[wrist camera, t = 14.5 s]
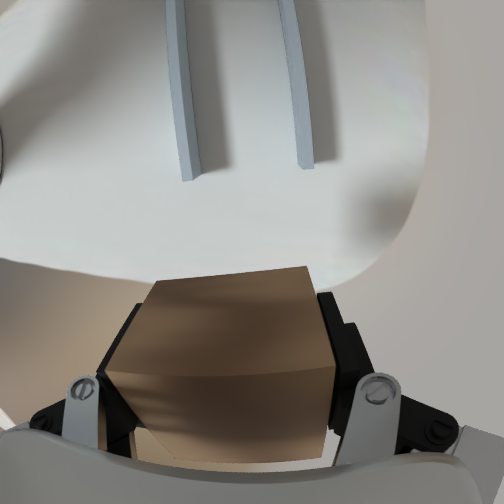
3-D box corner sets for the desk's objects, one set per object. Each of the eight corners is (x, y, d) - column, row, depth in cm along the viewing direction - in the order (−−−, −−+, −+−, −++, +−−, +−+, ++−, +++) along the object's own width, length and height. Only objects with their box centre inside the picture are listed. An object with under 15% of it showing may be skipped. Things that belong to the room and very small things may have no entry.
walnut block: (193, 377, 13) (174, 458, 9) (156, 280, 11) (104, 370, 6) (308, 370, 13) (321, 457, 8) (306, 265, 10) (335, 365, 6)
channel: (192, 175, 22) (182, 181, 19) (174, -65, 11) (167, -79, 8) (307, 164, 21) (314, 168, 19) (268, -79, 10) (268, -94, 7)
